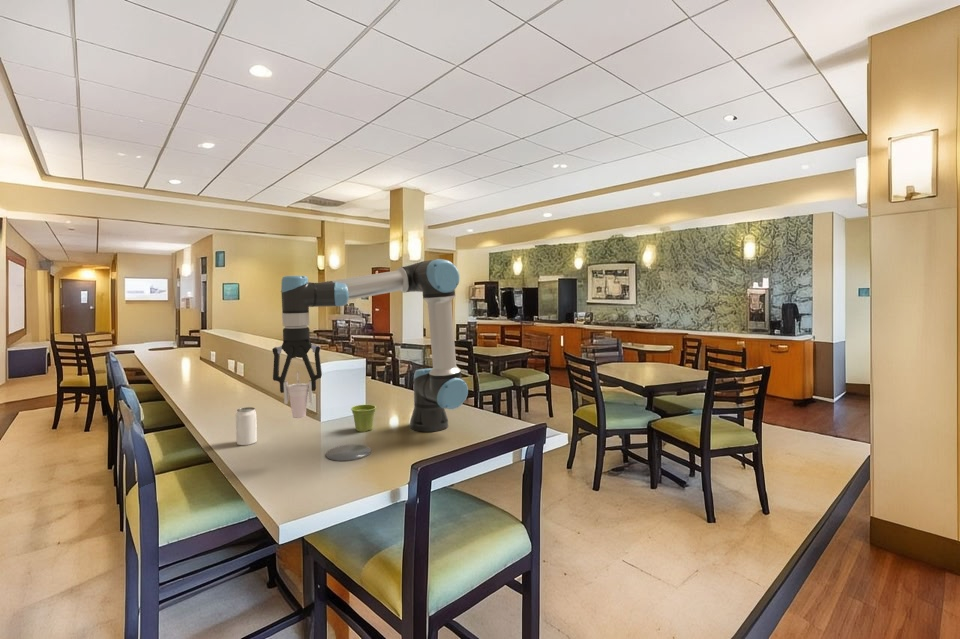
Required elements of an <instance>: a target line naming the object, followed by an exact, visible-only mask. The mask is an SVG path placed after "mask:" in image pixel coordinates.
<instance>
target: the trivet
mask: <svg viewBox="0 0 960 639" xmlns="http://www.w3.org/2000/svg"><path fill="white" fill-rule="evenodd" d="M371 451H372V450H371V447H369V446H367V445H363V444H362V445H361V444H346V445H345V444H344V445H339V446H335V447H333V448H331V449H329V450H327V452H326V458H327V459H328V460H331V461H334V462H351V461H357V460H361V459H363V457H364V458H366V457H368V456H369V455H370V454H371Z"/></svg>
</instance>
